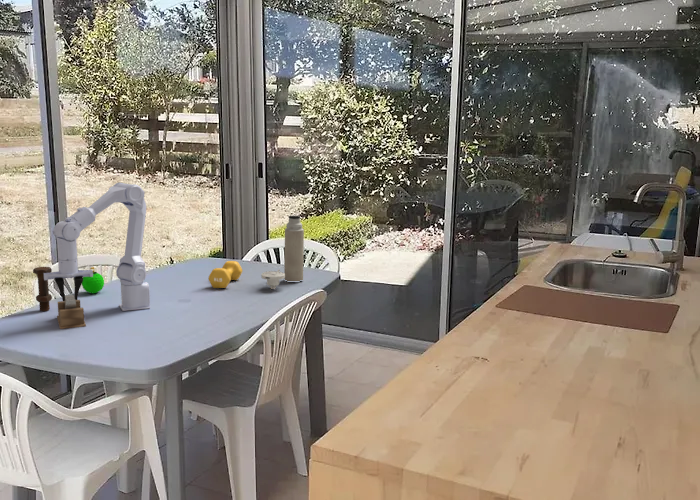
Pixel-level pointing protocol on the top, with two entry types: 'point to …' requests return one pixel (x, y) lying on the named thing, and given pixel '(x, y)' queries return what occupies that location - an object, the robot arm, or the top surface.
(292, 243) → the thermos bottle
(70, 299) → the grey concrete block
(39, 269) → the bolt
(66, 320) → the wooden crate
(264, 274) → the showerhead
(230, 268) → the dumbbell
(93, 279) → the ornament
